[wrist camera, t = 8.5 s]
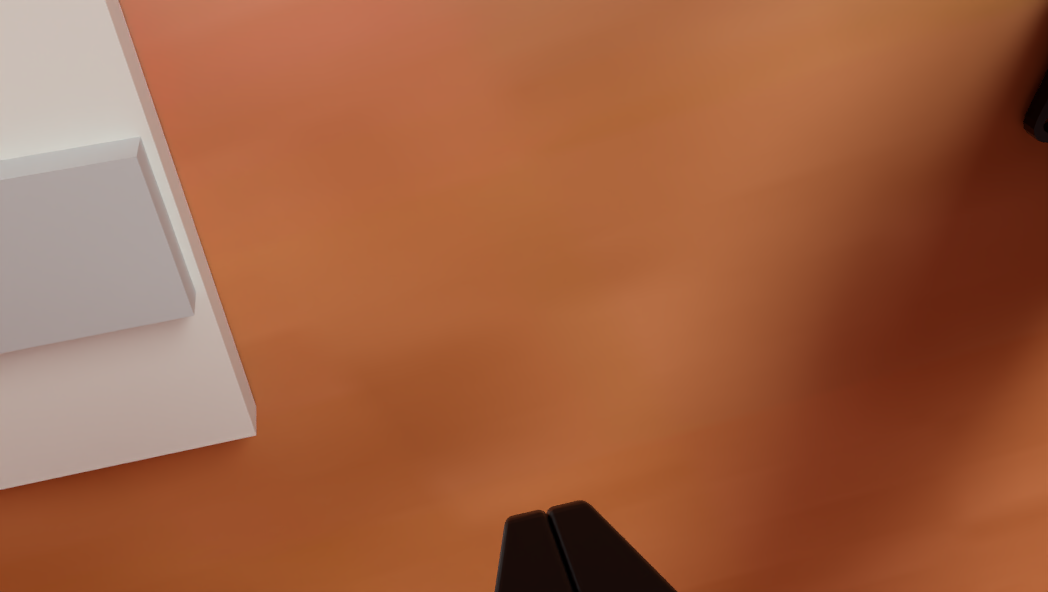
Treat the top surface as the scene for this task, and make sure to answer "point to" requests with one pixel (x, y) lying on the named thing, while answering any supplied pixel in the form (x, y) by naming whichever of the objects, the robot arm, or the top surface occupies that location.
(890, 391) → the top surface
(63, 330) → the rail plate
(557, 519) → the robot arm
